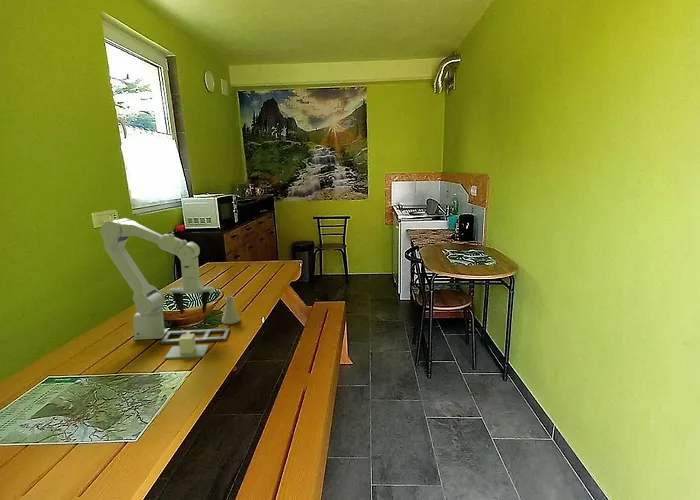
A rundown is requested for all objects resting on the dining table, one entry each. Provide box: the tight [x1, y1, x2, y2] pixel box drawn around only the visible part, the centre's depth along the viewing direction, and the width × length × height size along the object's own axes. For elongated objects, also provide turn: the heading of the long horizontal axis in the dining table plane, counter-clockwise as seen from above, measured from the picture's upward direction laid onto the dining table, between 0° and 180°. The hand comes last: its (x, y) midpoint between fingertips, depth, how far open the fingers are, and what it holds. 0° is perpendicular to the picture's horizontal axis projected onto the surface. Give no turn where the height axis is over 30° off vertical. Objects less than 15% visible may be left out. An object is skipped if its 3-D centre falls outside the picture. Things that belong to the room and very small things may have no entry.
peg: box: [178, 334, 197, 353], centre depth 125 cm, size 4×4×5 cm
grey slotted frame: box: [159, 327, 231, 345], centre depth 137 cm, size 22×9×1 cm, turn 99°
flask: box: [220, 296, 242, 325], centre depth 151 cm, size 7×7×10 cm
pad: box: [164, 344, 210, 360], centre depth 125 cm, size 12×8×1 cm, turn 99°
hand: (193, 312), depth 137 cm, fingers open, 7 cm apart
